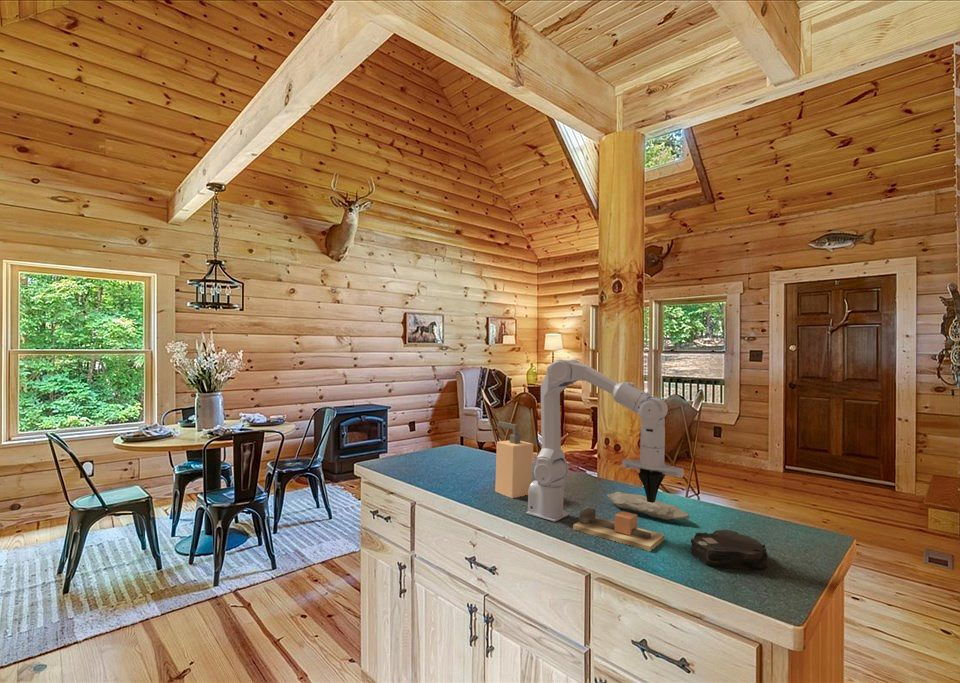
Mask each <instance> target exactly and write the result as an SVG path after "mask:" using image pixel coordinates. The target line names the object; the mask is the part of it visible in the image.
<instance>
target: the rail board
mask: <svg viewBox="0 0 960 683" xmlns="http://www.w3.org/2000/svg"><path fill="white" fill-rule="evenodd" d="M596 512H597V511H596V508H592V507H587V508H585V509H583V510H581V511H579V520H578V522H576V523H574V524H573V526H572V529H573V530H574V531H578V532H579V533H580V532H581V533H585V534H588V535H591V536H594V537H597V536H598V537H599V538H602V539H604V538H605V540H608V539H609V541H611V540H612V542H615V541H616V542H615V543H618V542H619V543H620V544H622V543H623V544H622V545H625V544H627V545H626V546H628V545H631V546H630V547H632V546H634V547H633V548H635V547H638V548H637V549H639V548H641V549H640V550H642V549H644V550H643V551H646V550H647V551H646V552H649V551H651V550H652V549H653V550H655V549H656V548H657V547H658V546H659V545H660V544H662V543H663V542H664V541H665V538H666V537H665V534H663V533H659V532H655V531H651V530H649V529H645V528H639V527H637V529H632V531H631V535H627V534H624V533H620V532H616V531H614V525H615V520H610V519H606V518H602V517H598V516H596ZM656 546H657V547H656ZM653 550H652V551H653ZM652 551H651V552H652Z"/></svg>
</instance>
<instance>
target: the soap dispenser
mask: <svg viewBox="0 0 960 683" xmlns="http://www.w3.org/2000/svg"><path fill="white" fill-rule="evenodd" d="M497 427H500V428H506V429H510V430H512V433H511V434H509V440H508V439H507V440H501V441H496V453H495V454H496V457H495V459H496V460H495V462H496V463H495V484H494V485H495V489H494V490H495V493H498V494H501V495H502V496H504V497H505V496H506V497H508V498H511V499H516V498H520V496H521V497H526V496H528V491H529V487H530V484H531V483H532V482H533V471H534V468H533V464H534V463H533V462H534V461H533V460H534V443H531V442H527V441H523V440H521V435H520V434H519V433H518V432H519V425H518V424H515V423H510V422H505V421H501V420H499V421H497ZM525 495H526V496H525Z"/></svg>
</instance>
